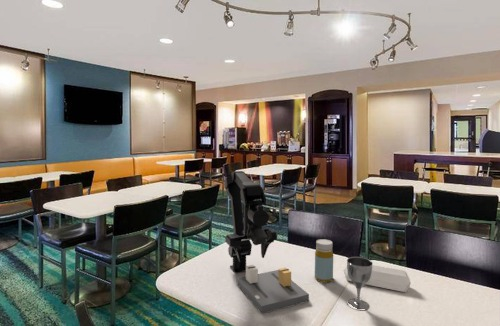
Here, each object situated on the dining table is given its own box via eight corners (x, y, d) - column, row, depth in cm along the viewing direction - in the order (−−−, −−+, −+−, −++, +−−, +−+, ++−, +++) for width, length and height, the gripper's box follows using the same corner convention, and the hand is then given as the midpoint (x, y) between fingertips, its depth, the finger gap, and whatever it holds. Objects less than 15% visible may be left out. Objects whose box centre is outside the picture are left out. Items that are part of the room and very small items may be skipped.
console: (237, 284, 118) (237, 278, 118) (278, 275, 126) (278, 269, 125) (261, 313, 99) (261, 305, 99) (308, 301, 107) (308, 293, 106)
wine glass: (358, 313, 99) (360, 268, 98) (340, 301, 106) (342, 259, 105) (376, 307, 103) (377, 263, 101) (357, 296, 110) (359, 255, 109)
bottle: (333, 283, 119) (334, 245, 118) (314, 281, 120) (315, 244, 119) (332, 275, 126) (333, 239, 124) (314, 273, 127) (315, 238, 126)
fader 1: (245, 279, 117) (245, 265, 116) (253, 277, 118) (253, 264, 118) (250, 283, 113) (250, 270, 113) (257, 282, 114) (257, 268, 114)
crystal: (340, 273, 120) (411, 287, 109) (344, 258, 125) (411, 270, 114) (342, 285, 124) (410, 299, 113) (345, 270, 129) (410, 282, 118)
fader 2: (278, 281, 115) (278, 268, 114) (285, 280, 116) (285, 266, 115) (283, 286, 111) (283, 272, 110) (291, 285, 112) (291, 271, 112)
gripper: (236, 227, 102) (236, 273, 104) (285, 221, 110) (284, 263, 112) (224, 219, 112) (225, 260, 114) (270, 213, 120) (270, 252, 122)
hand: (251, 259), depth 115 cm, fingers open, 9 cm apart
